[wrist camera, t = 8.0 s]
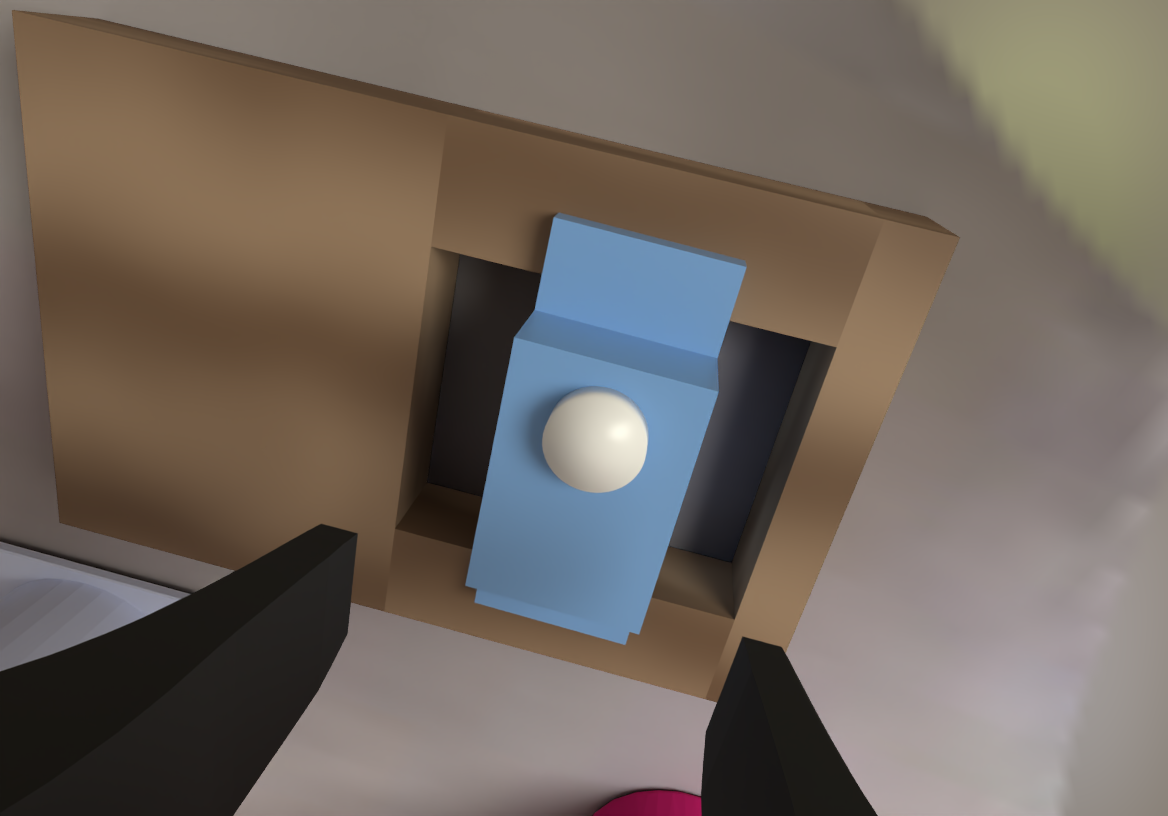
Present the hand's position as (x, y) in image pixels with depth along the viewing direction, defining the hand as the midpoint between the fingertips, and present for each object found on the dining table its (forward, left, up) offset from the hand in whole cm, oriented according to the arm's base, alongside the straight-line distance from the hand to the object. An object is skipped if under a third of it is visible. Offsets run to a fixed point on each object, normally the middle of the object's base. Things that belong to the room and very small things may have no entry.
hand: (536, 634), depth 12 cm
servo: (0, 0, -9) cm, 9 cm away
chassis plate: (0, +4, -9) cm, 10 cm away
